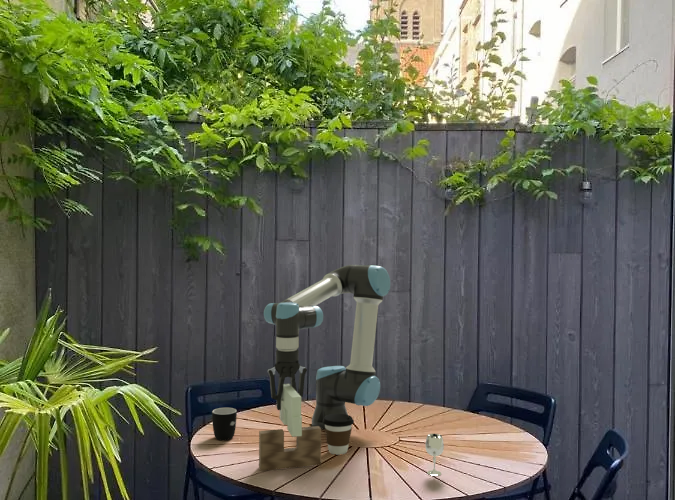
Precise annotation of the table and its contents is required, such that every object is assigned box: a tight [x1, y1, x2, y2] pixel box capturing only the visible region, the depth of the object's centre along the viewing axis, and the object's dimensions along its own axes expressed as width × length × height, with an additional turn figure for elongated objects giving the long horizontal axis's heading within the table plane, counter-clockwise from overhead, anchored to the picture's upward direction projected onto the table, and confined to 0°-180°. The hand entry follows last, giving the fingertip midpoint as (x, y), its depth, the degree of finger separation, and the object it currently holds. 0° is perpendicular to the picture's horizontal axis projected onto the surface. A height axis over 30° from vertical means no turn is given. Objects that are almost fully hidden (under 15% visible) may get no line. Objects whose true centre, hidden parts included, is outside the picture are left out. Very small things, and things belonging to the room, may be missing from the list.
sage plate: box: [281, 383, 303, 438], centre depth 199 cm, size 3×20×12 cm, turn 16°
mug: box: [211, 407, 238, 441], centre depth 229 cm, size 12×9×10 cm
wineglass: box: [424, 433, 445, 477], centre depth 195 cm, size 6×6×12 cm
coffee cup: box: [323, 414, 355, 456], centre depth 214 cm, size 11×11×12 cm
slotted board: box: [258, 426, 322, 472], centre depth 200 cm, size 20×3×12 cm, turn 106°
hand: (286, 418), depth 205 cm, fingers closed on sage plate, 3 cm apart
